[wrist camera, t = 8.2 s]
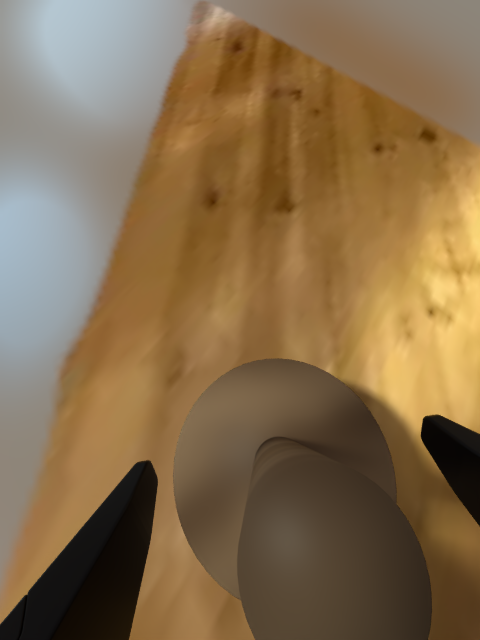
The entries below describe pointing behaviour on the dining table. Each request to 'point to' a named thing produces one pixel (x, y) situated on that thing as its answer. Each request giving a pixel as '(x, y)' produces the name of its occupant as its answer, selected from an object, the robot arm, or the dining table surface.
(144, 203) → the dining table surface
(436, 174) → the dining table surface
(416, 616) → the brown peg on base
